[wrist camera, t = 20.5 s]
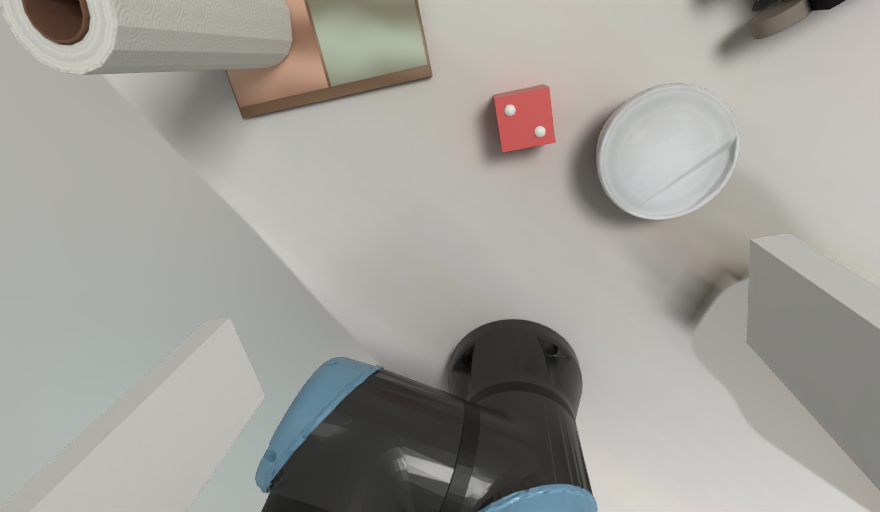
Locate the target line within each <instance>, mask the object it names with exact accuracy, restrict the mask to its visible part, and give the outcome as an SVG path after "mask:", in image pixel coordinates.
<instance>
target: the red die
mask: <svg viewBox="0 0 880 512" xmlns="http://www.w3.org/2000/svg"><path fill="white" fill-rule="evenodd" d="M494 102H495V108H496V114H497V121H498V127H499V134H500V140H501V147H502V153H503V152H508V151H513V150H519V149H524V148H529V147H535V146H540V145H545V144H551V143H555V135H554V126H553V117H552V108H551V99H550V90H549V87H548V86H546V85H539V86H534V87H529V88H525V89H520V90H515V91H510V92H506V93H501V94H496V95H494Z"/></svg>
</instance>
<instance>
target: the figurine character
mask: <svg viewBox="0 0 880 512" xmlns="http://www.w3.org/2000/svg"><path fill="white" fill-rule="evenodd" d="M776 1H778V0H759V1H757V2H756V4H755V6H754V7H753V9H752V10H763V9H765V8H766V7H768V6H770V5H771V4H773V3H775V2H776ZM844 1H845V0H783V1H782V2H780V3H778V4H776V5H774V6H772V7H770V8H768V9H767V10H765V11H763V12H762V13H760V14H759V15H757V16H756V17H754V18H753V19H752V20H751V21H750V22H749V26H750V29H751V32H752V35H753V37H754V39H761V38H764V37H768V36H770V35H773V34H775V33H778V32H780V31H782V30H784V29H786V28H788V27H790V26H792V25H794V24H795V23H797V22H799V21H800V20H802V19H803V18H805V17H806V16H807V15H809V14H810V12H811V11H814V10H827V9H831V8H833V7H835V6H836V5H838V4H840V3H842V2H844Z"/></svg>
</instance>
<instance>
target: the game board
mask: <svg viewBox="0 0 880 512" xmlns="http://www.w3.org/2000/svg"><path fill="white" fill-rule="evenodd" d="M285 2H286V4H287V6H288V8H289V10H290V19H291V27H292V39H293V41H292V45H291V48H290V51H289V54H288V55H287V56H286V57H285V58H284V59H283V60H282V62H281V63H280V64H277V65H274V66H272V67H269V68H249V69H225V70H226V72H227V75H228V78H229V81H230V84H231V86H232V89H233V92H234V95H235V98H236V100H237V103H238V106H239V109H240V112H241V115H242V117H243V118H247V117H252V116H256V115H261V114H265V113H270V112H274V111H278V110H283V109H287V108H292V107H296V106H301V105H305V104H310V103H314V102H319V101H323V100H327V99H332V98H336V97H341V96H345V95H350V94H354V93H359V92H363V91H368V90H372V89H377V88H381V87H385V86H390V85H394V84H399V83H403V82H408V81H412V80H417V79H421V78H426V77H430V76H432V71H431V66H430V61H429V56H428V51H427V46H426V41H425V36H424V31H423V26H422V21H421V16H420V11H419V6H418V1H417V0H285Z"/></svg>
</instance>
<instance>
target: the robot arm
mask: <svg viewBox="0 0 880 512" xmlns="http://www.w3.org/2000/svg"><path fill="white" fill-rule="evenodd" d="M747 321H748V322H747V343H748V344H749V346H750V347H751V348H752V349H753V350H754V351H755V352H756V353H757V354H758V356H759V357H760V358H761V359H762V360H763V361H764V362H765V363H766V365H768V367H769V368H770V369H771V370H772V371H773V372H774V373H775V375H776V376H777V377H778V378H779V379H780V380H781V381H782V382H783V383H784V385H785V386H786V387H787V388H788V389H789V390H790V391H791V392H792V393H793V394H794V396H795V397H796V398H797V399H798V400H799V401H800V402H801V404H803V406H804V407H805V408H806V409H807V410H808V411H809V412H810V414H811V415H812V416H813V417H814V418H815V419H816V420H817V421H818V422H819V424H820V425H821V426H822V427H823V428H824V429H825V430H826V431H827V432H828V433H829V435H830V436H831V437H832V438H833V439H834V440H835V441H836V442H837V444H838V445H839V446H840V447H841V448H842V449H843V450H844V451H845V452H846V454H847V455H848V456H849V457H850V458H851V459H852V460H853V461H854V462H855V464H856V465H857V466H858V467H859V468H860V469H861V470H862V471H863V473H864V474H865V475H866V476H867V477H868V478H869V479H870V480H871V481H872V483H873V484H874V485H875V486H876V487H877V488H878V489H879V490H880V287H879V286H877V285H875V284H874V283H872V282H870V281H868V280H867V279H865V278H863V277H862V276H860V275H858V274H857V273H855V272H853V271H851V270H850V269H848V268H846V267H845V266H843V265H841V264H839V263H838V262H836V261H834V260H833V259H831V258H829V257H827V256H826V255H824V254H822V253H821V252H819V251H817V250H816V249H814V248H812V247H810V246H809V245H807V244H805V243H804V242H802V241H800V240H798V239H797V238H795V237H793V236H792V235H790V234H782V235H775V236H769V237H762V238H755V239H750V262H749V292H748V320H747ZM448 383H449V391H450V394H449V393H446V392H444V391H441V390H438V389H435V388H433V387H430V386H427V385H424V384H422V383H419V382H416V381H413V380H411V379H408V378H405V377H403V376H400V375H397V374H395V373H392V372H390V371H387V370H384V368H383V367H381V366H379V365H377V366H372V365H369V364H366V363H362V362H359V361H355V360H352V359H349V358H345V357H337V358H333V359H331V360H329V361H327V362H325V363H324V364H323V365H322V366H320V367H319V368H318V369H317V370H316V371H315V372H314V374H313V375H312V376H311V377H310V379H309V380H308V381H307V382H306V384H305V385H304V386H303V388H302V389H301V391H300V392H299V393H298V395H297V397H296V398H295V399H294V401H293V402H292V404H291V406H290V407H289V409H288V410H287V412H286V414H285V415H284V417H283V419H282V420H281V422H280V424H279V426H278V427H277V429H276V431H275V433H274V435H273V437H272V439H271V441H270V444H269V445H270V446H269V447H268V449H267V450H266V452H265V454H264V456H263V458H262V460H261V461H260V464H259V467H258V469H257V472H256V477H255V480H256V484H257V486H259V487H260V488H261V490H262V492H265V493H268V492H269V491H270V493H269V496H268V498H267V500H266V503H265V505H264V507H263V509H262V512H597V503H596V501H595V498H594V497H593V494H592V490H591V486H590V481H589V477H588V473H587V469H586V465H585V461H584V456H583V452H582V448H581V443H580V439H579V435H578V431H577V427H576V422H575V420H576V415H577V411H578V407H579V403H580V398H581V394H582V375H581V371H580V367H579V363H578V360H577V357H576V355H575V353H574V351H573V349H572V348H571V346H570V345H569V344H568V342H567V341H566V340H565V339H564V338H563V337H562V336H560V335H559V334H558V333H556V332H555V331H553V330H552V329H550V328H548V327H546V326H544V325H541V324H538V323H535V322H531V321H526V320H501V321H496V322H492V323H489V324H486V325H483V326H481V327H479V328H477V329H476V330H474V331H472V332H471V333H470V334H468V335H467V336H466V337H465V338H464V339H463V340H462V341H461V342H460V343H459V345H458V346H457V348H456V350H455V351H454V354H453V356H452V359H451V363H450V370H449V378H448ZM264 398H265V395H264V393H263V391H262V389H261V386H260V384H259V382H258V379H257V377H256V375H255V373H254V371H253V368H252V366H251V364H250V362H249V359H248V357H247V355H246V353H245V350H244V348H243V346H242V344H241V342H240V339H239V337H238V335H237V332H236V330H235V328H234V326H233V323H232V321H231V319H230V318H223V319H216V320H210V321H205V322H204V323H203V324H202V325H201V326H199V328H197V329H196V330H195V331H194V332H193V333H192V334H191V335H190V336H188V337H187V338H186V339H185V340H184V341H183V342H182V343H181V344H180V345H178V346H177V347H176V348H175V349H174V350H173V351H172V352H171V353H170V354H168V355H167V356H166V357H165V358H164V359H163V360H162V361H161V362H160V363H158V364H157V365H156V366H155V367H154V368H153V369H152V370H151V371H150V372H149V373H147V374H146V375H145V376H144V377H143V378H142V379H141V380H140V381H139V382H137V383H136V384H135V385H134V386H133V387H132V388H131V389H130V390H129V391H127V392H126V393H125V394H124V395H123V396H122V397H121V398H120V399H119V400H118V401H116V402H115V403H114V404H113V405H112V406H111V407H110V408H109V409H108V410H107V411H105V412H104V413H103V414H102V415H101V416H100V417H99V418H98V419H96V420H95V421H94V422H93V423H92V424H91V425H90V426H89V427H88V428H86V429H85V430H84V431H83V432H82V433H81V434H80V435H79V436H78V437H77V438H75V439H74V440H73V441H72V442H71V443H70V444H69V445H68V446H67V447H65V448H64V449H63V450H62V451H61V452H60V453H59V454H58V455H57V456H55V457H54V458H53V459H52V460H51V461H50V462H49V463H48V464H47V465H46V466H45V467H43V468H42V469H41V470H40V471H39V472H38V473H37V474H36V475H34V476H33V477H32V478H31V479H30V480H29V481H28V482H27V483H26V484H24V486H22V487H21V488H20V489H19V490H18V491H17V492H16V493H15V494H14V495H12V496H11V497H10V498H9V499H8V500H7V501H6V502H5V503H3V504H2V505H1V506H0V512H187V511H188V510H189V508H190V507H191V505H192V504H193V502H194V501H195V499H196V498H197V496H198V495H199V493H200V492H201V490H202V489H203V488H204V486H205V484H206V483H207V482H208V480H209V479H210V477H211V476H212V474H213V473H214V471H215V470H216V468H217V467H218V465H219V464H220V462H221V461H222V460H223V458H224V457H225V455H226V454H227V452H228V451H229V449H230V448H231V446H232V445H233V443H234V442H235V440H236V439H237V438H238V436H239V434H240V433H241V432H242V430H243V428H244V427H245V426H246V424H247V423H248V421H249V420H250V418H251V417H252V416H253V414H254V412H255V411H256V410H257V408H258V406H259V405H260V404H261V402H262V401H263V399H264Z"/></svg>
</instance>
